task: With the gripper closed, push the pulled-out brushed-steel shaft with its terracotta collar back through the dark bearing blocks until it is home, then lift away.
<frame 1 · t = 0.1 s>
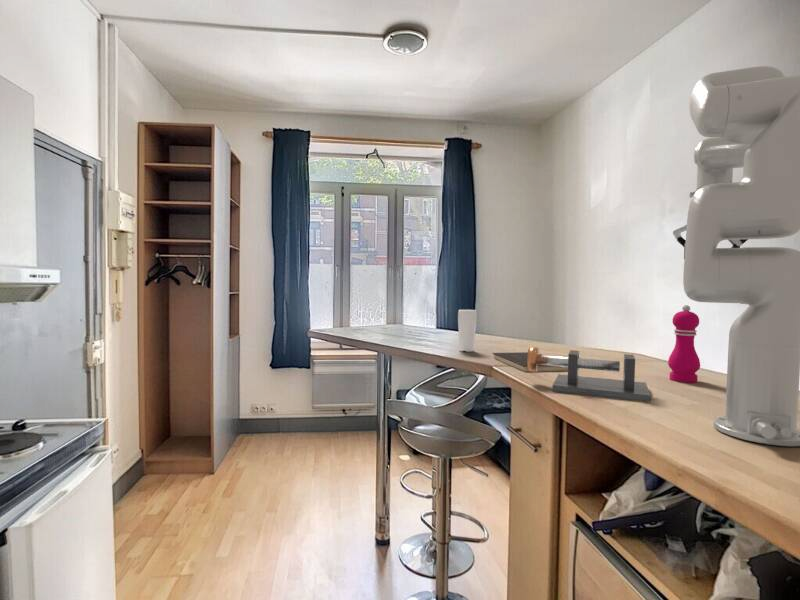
hand: (710, 262, 116), 31 cm above the table, tool pointing down, fingers open, 9 cm apart
pepper mill: (683, 381, 120), on the table
hardcover book: (530, 366, 141), on the table
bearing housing: (599, 390, 107), on the table
shaft: (572, 362, 109), point 6 cm above the table, slide at 7.0 cm
drinking glass: (466, 351, 165), on the table
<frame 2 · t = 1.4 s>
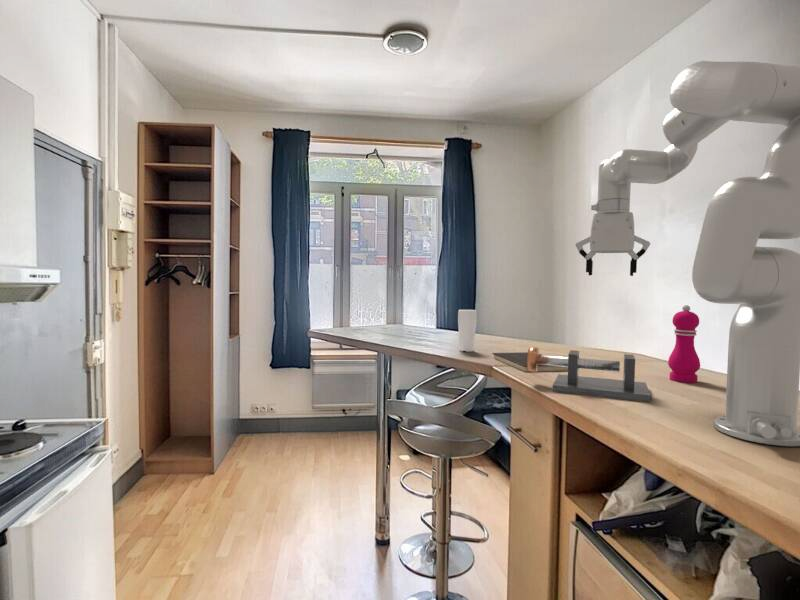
hand: (610, 275, 116), 27 cm above the table, tool pointing down, fingers open, 9 cm apart
nothing on the table moved.
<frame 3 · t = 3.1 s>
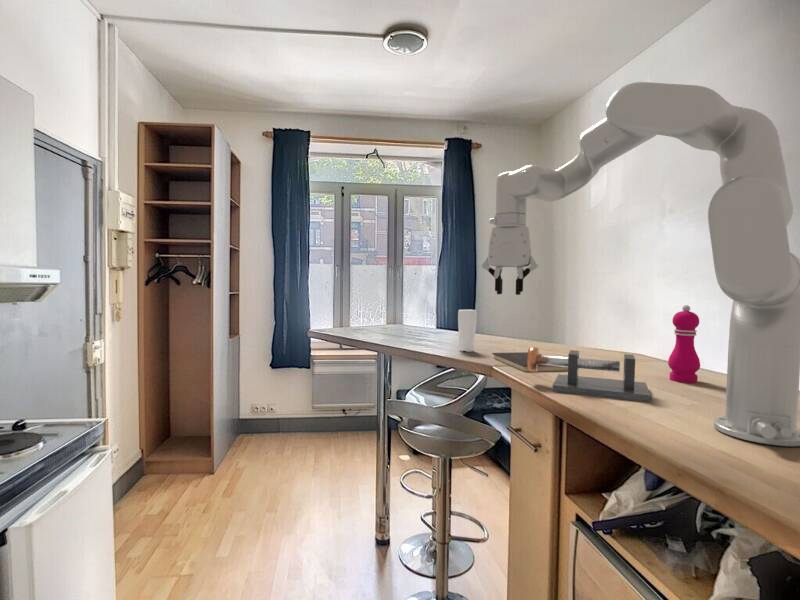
hand: (508, 293, 115), 22 cm above the table, tool pointing down, fingers open, 4 cm apart
nothing on the table moved.
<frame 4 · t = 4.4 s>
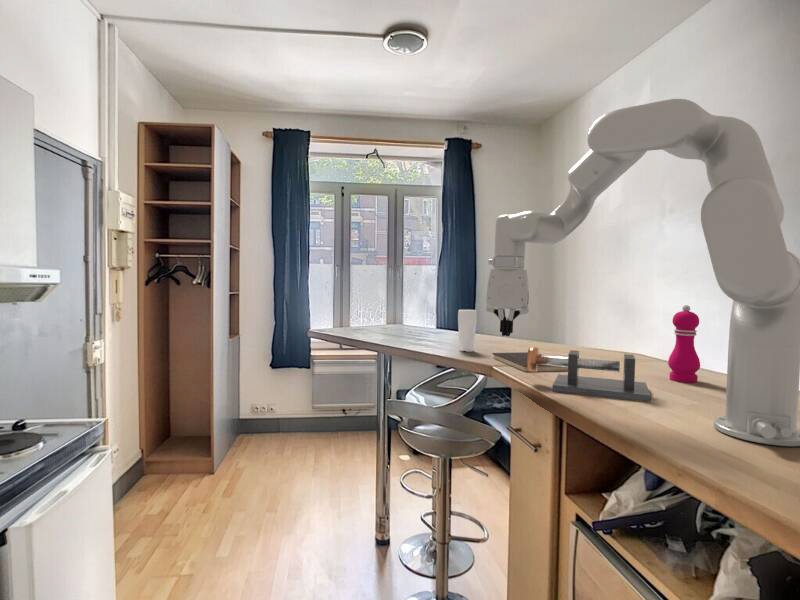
hand: (506, 335, 116), 12 cm above the table, tool pointing down, fingers closed
nothing on the table moved.
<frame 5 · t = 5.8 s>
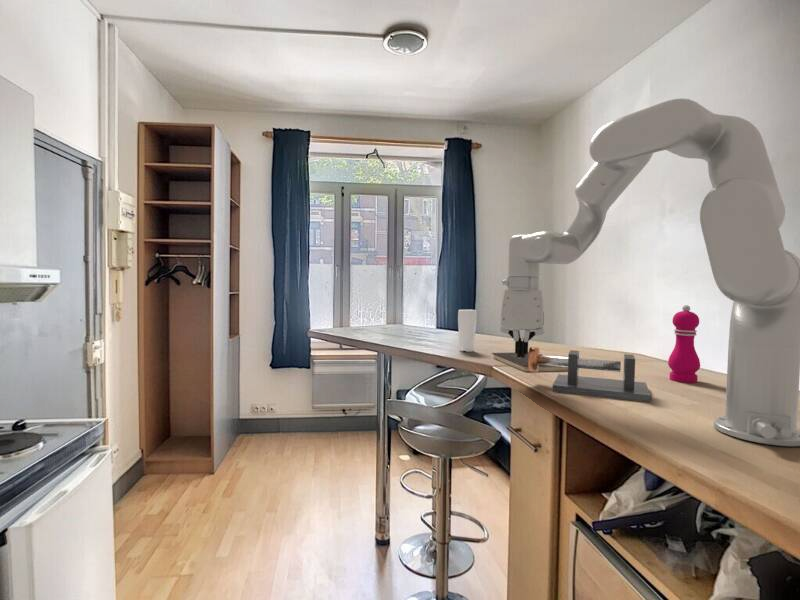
hand: (521, 356, 114), 6 cm above the table, tool pointing down, fingers closed
shaft: (573, 362, 109), point 6 cm above the table, slide at 6.8 cm, touching gripper
everything else where it was.
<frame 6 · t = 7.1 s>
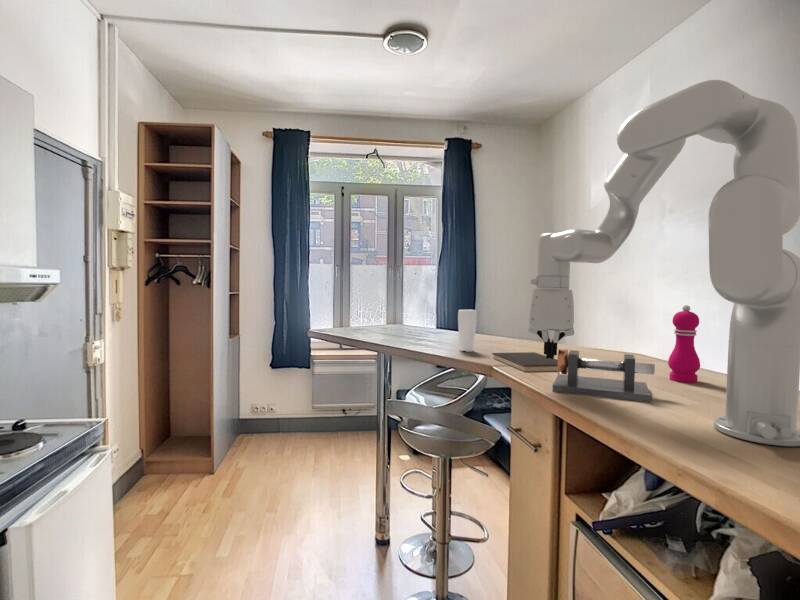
hand: (550, 357, 112), 7 cm above the table, tool pointing down, fingers closed
shaft: (604, 365, 106), point 6 cm above the table, slide at -0.1 cm, touching gripper
everything else where it was.
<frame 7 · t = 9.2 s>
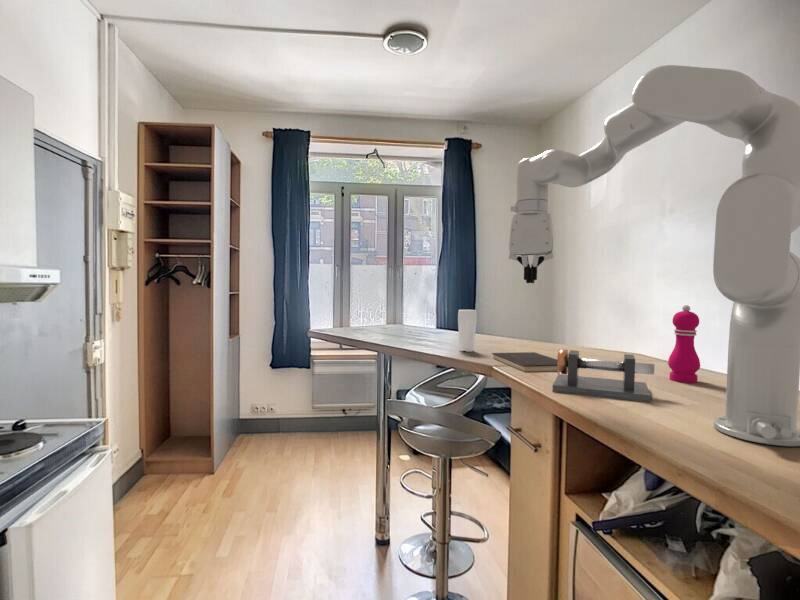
hand: (530, 282, 113), 25 cm above the table, tool pointing down, fingers closed
shaft: (604, 365, 106), point 6 cm above the table, slide at 0.0 cm
everything else where it was.
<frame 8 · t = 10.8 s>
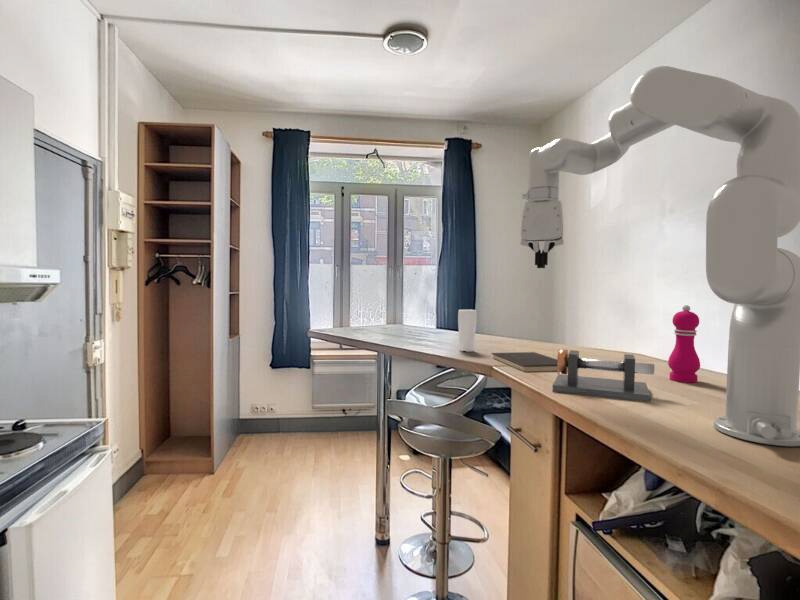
hand: (541, 267, 118), 29 cm above the table, tool pointing down, fingers closed
nothing on the table moved.
at the end: shaft slide at 0.0 cm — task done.
